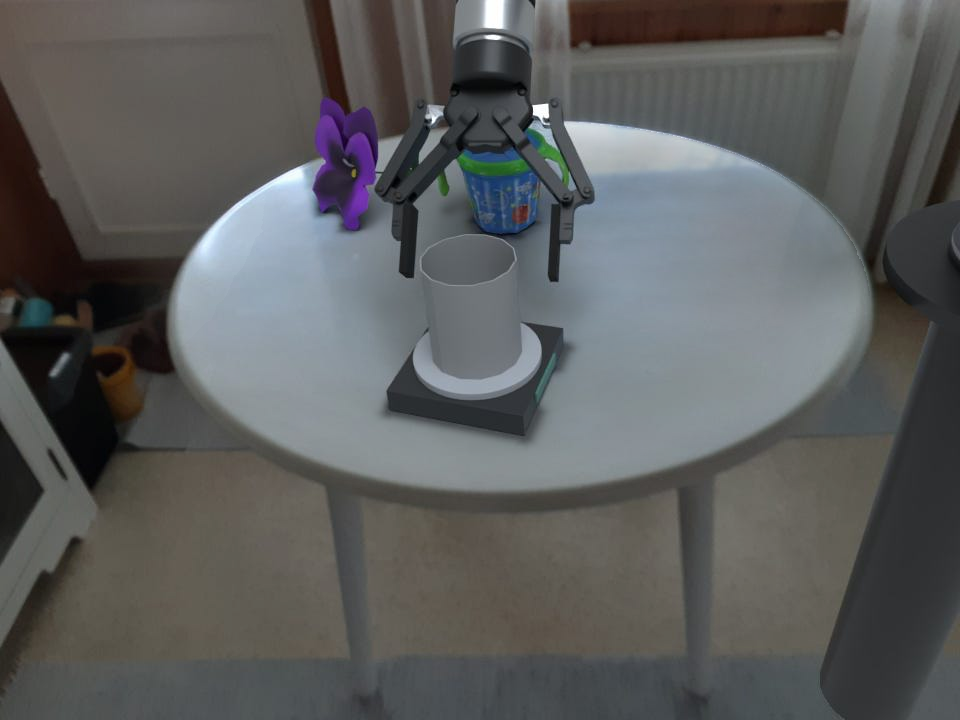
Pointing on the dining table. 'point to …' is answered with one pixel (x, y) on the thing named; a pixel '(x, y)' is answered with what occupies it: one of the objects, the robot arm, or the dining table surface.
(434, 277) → the cup
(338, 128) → the flower
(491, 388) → the scale
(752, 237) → the dining table surface
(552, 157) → the snack cup
